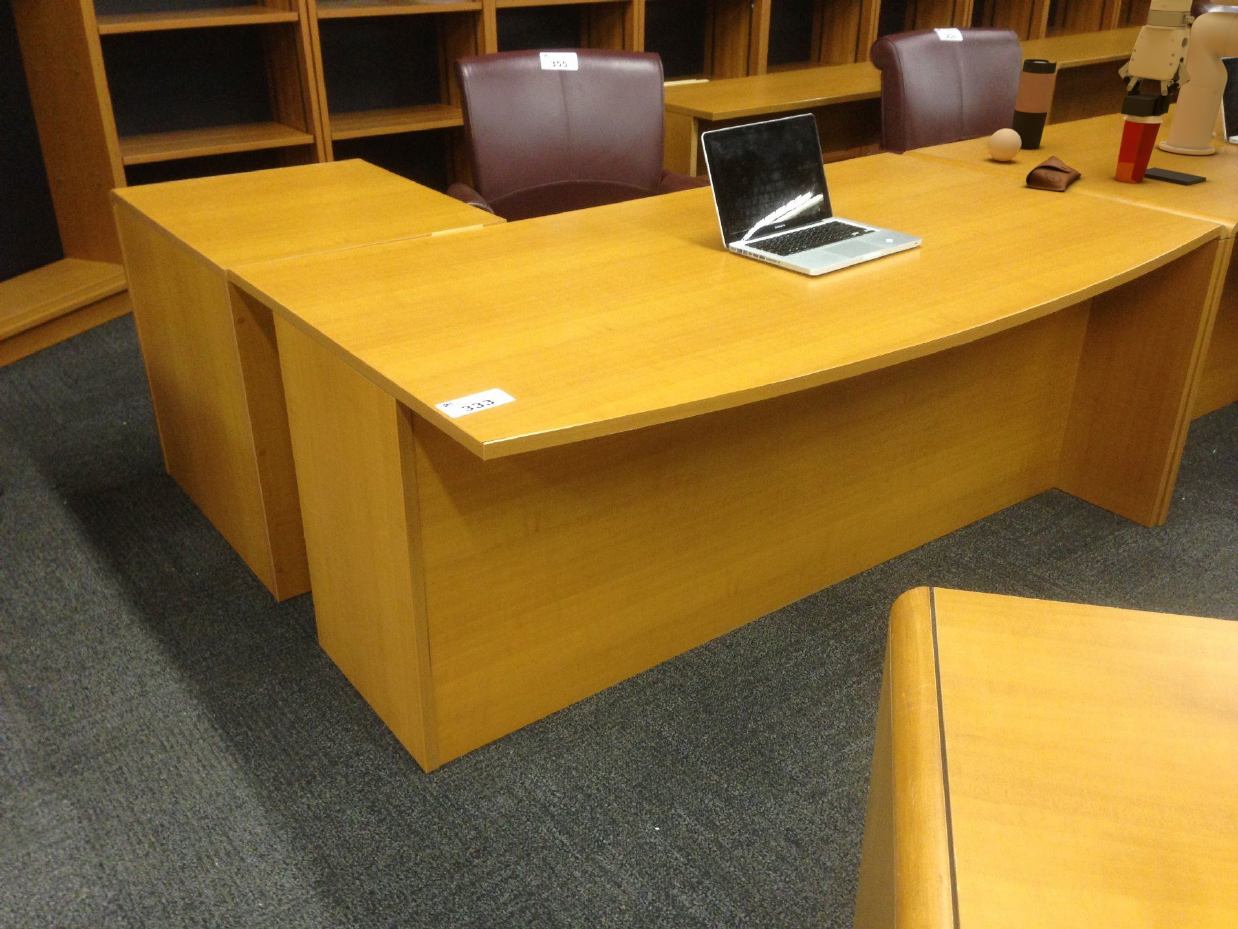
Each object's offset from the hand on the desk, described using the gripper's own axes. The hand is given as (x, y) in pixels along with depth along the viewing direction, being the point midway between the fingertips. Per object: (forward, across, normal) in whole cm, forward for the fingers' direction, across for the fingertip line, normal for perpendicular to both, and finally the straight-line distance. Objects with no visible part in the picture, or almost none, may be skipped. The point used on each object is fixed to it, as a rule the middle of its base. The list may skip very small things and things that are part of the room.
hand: (1144, 111), depth 223 cm
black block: (0, 0, 0) cm, 0 cm away
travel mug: (+14, +35, -13) cm, 40 cm away
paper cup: (+15, 0, 0) cm, 15 cm away
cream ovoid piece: (+15, +28, +6) cm, 32 cm away
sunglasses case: (+15, +8, +16) cm, 23 cm away
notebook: (+14, -4, -10) cm, 18 cm away
